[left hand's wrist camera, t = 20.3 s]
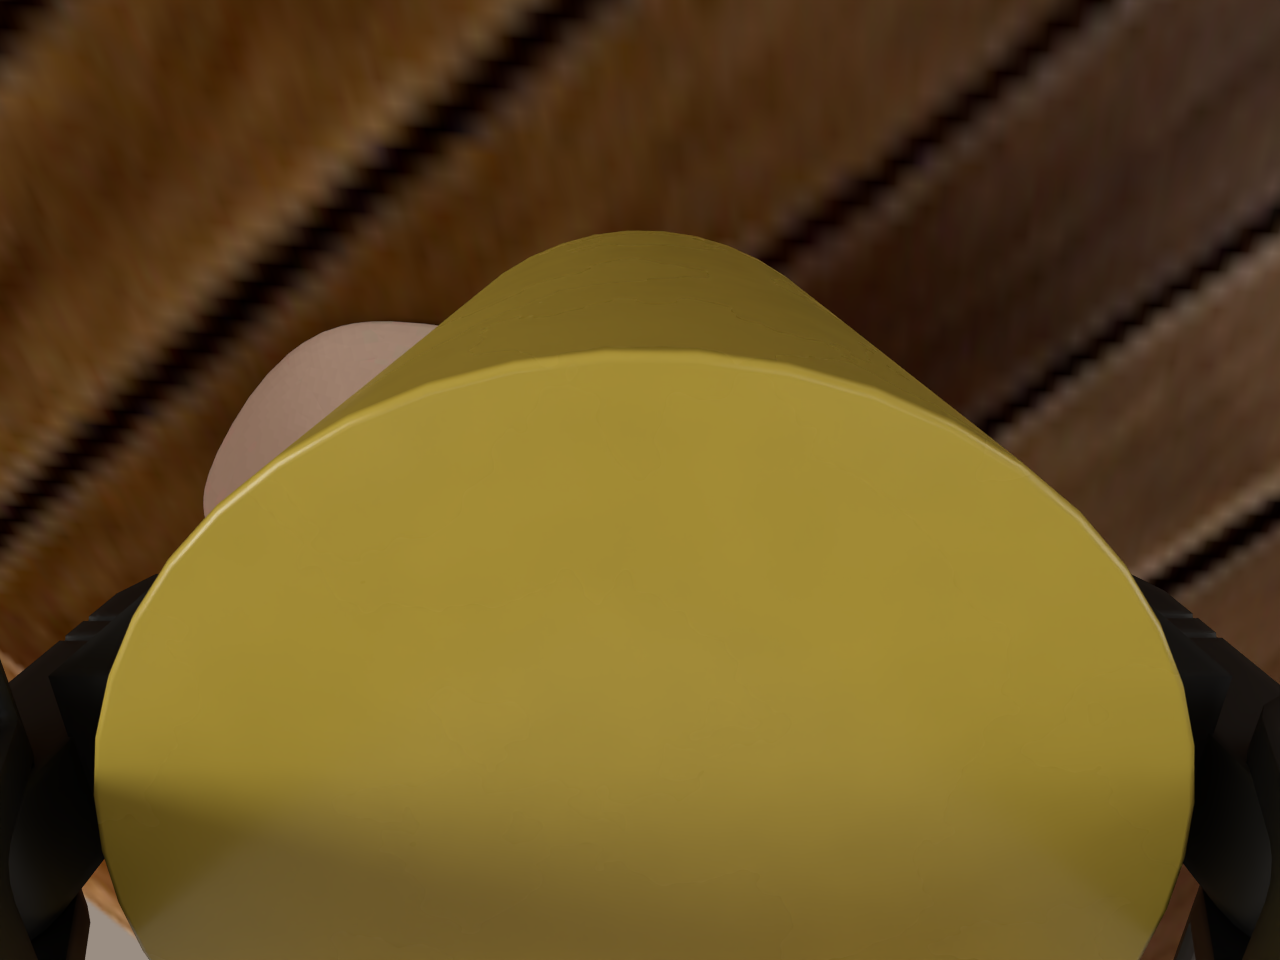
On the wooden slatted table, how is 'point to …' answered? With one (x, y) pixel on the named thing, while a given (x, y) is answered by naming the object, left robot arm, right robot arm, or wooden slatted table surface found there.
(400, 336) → the anatomical model
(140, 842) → the yellow cylinder
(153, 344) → the wooden slatted table surface
